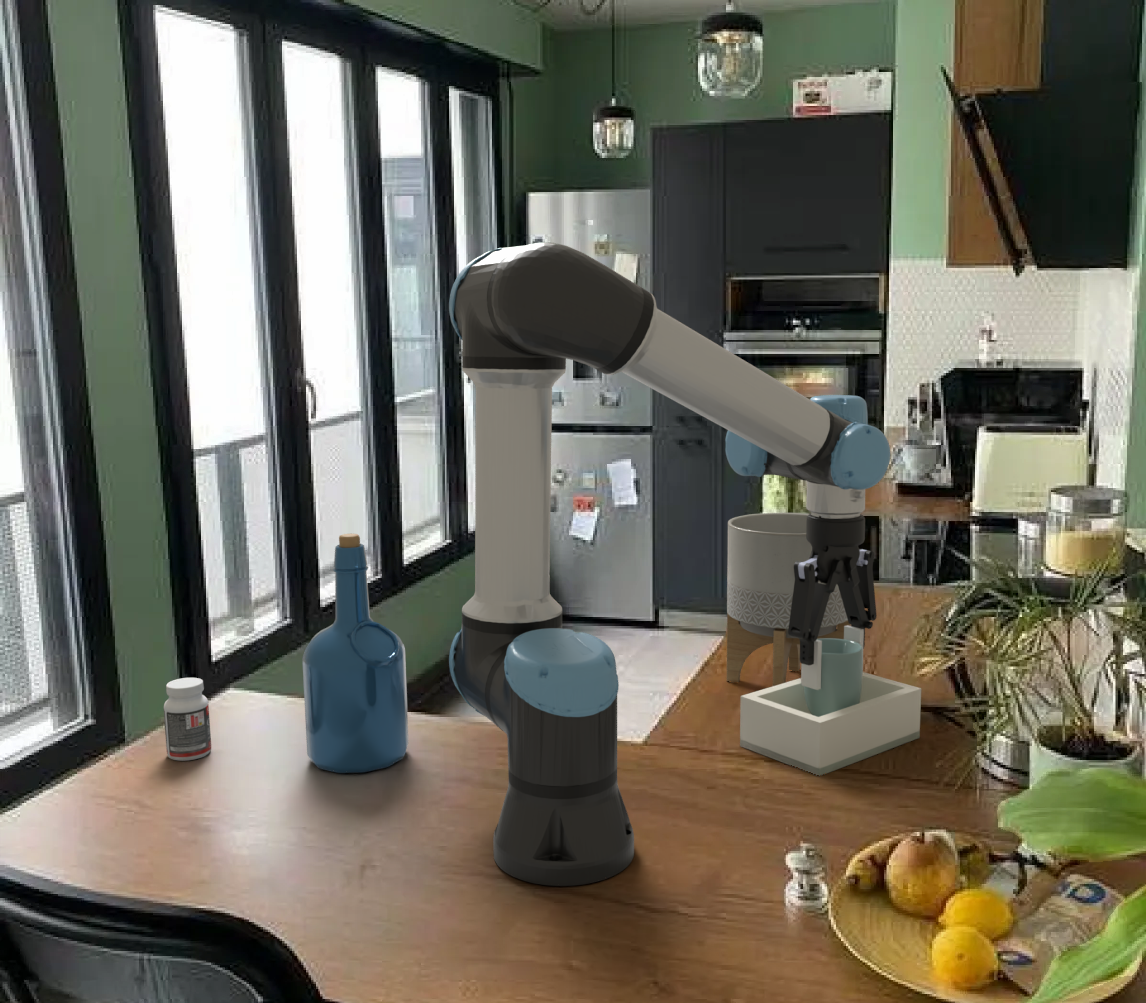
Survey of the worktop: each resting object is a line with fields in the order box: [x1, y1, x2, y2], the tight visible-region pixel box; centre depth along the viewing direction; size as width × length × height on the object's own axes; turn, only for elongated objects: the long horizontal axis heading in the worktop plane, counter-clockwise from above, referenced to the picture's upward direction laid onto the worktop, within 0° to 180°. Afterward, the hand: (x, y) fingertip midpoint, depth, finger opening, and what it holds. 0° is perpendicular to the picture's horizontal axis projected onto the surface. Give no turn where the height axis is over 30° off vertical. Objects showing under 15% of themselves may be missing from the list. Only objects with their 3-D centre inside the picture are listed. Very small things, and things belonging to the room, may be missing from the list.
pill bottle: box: [163, 677, 212, 762], centre depth 151 cm, size 6×6×10 cm
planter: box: [726, 512, 851, 687], centre depth 176 cm, size 19×19×26 cm
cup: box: [804, 638, 864, 717], centre depth 152 cm, size 8×8×10 cm
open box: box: [739, 671, 922, 777], centre depth 153 cm, size 21×14×7 cm, turn 128°
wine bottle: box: [302, 533, 409, 774], centre depth 148 cm, size 14×13×30 cm
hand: (832, 680), depth 152 cm, fingers closed on cup, 8 cm apart
